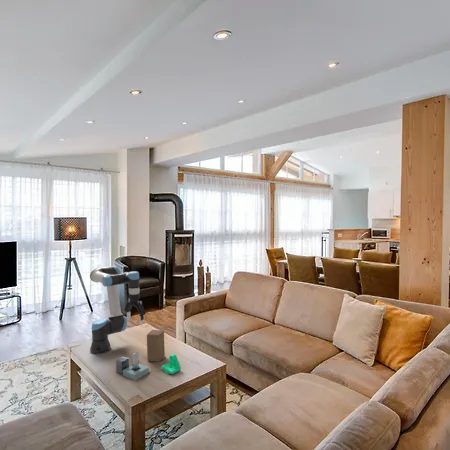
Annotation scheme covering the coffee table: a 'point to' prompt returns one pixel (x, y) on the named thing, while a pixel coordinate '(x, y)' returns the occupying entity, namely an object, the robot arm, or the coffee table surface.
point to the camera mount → (172, 365)
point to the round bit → (135, 361)
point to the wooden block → (155, 345)
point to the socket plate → (135, 372)
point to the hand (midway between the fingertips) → (135, 322)
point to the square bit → (121, 364)
